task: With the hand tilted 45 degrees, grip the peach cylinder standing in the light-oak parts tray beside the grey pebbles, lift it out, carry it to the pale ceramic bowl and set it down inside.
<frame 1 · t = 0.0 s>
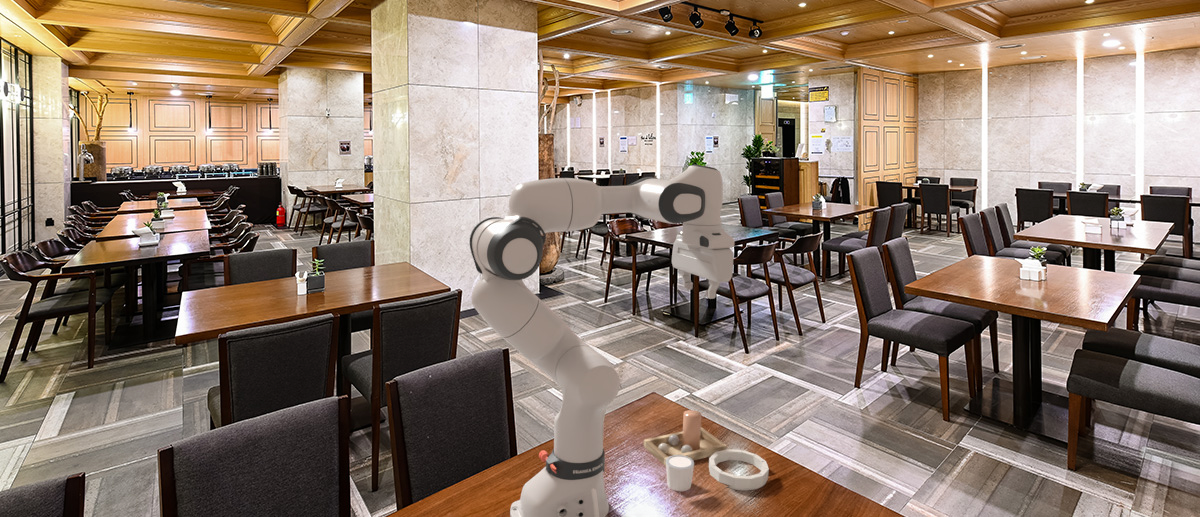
hand: (698, 293, 145), 48 cm above the table, tool pointing down, fingers open, 8 cm apart
bowl: (737, 474, 156), on the table
pebble a: (688, 445, 164), point 4 cm above the table, tilted 160°, touching parts tray
pebble b: (663, 454, 165), point 1 cm above the table, touching parts tray
shot glass: (678, 488, 150), on the table
peach cylinder: (690, 448, 168), point 1 cm above the table, touching parts tray
pebble c: (675, 435, 169), point 4 cm above the table, tilted 160°, touching parts tray
parts tray: (684, 452, 168), on the table
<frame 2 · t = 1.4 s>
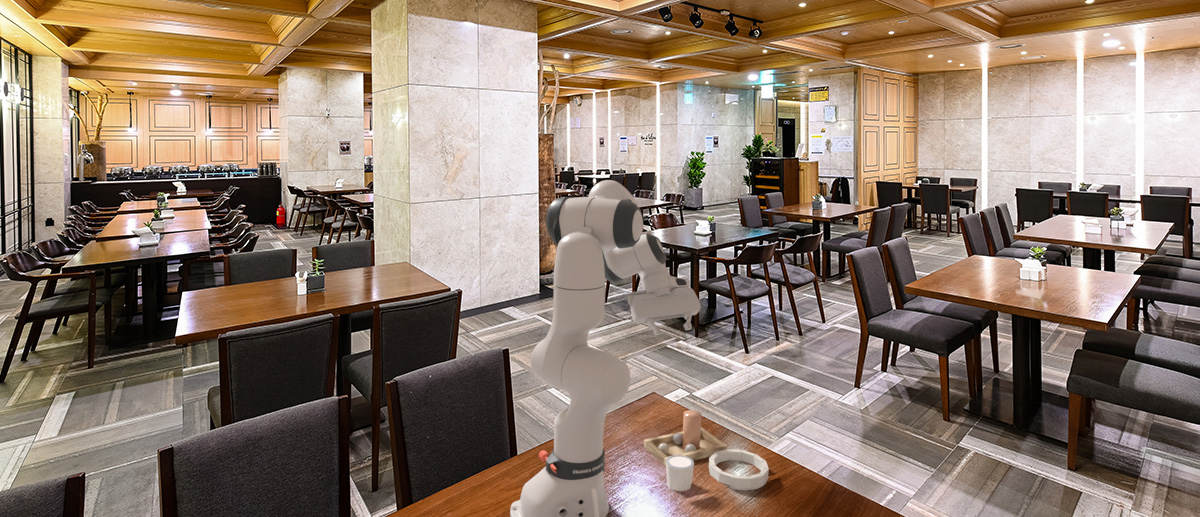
hand: (673, 331, 170), 32 cm above the table, tool tilted 45°, fingers open, 8 cm apart
pebble a: (694, 446, 165), point 3 cm above the table, tilted 116°, touching parts tray
pebble c: (682, 436, 171), point 3 cm above the table, tilted 107°, touching parts tray
everything else where it was.
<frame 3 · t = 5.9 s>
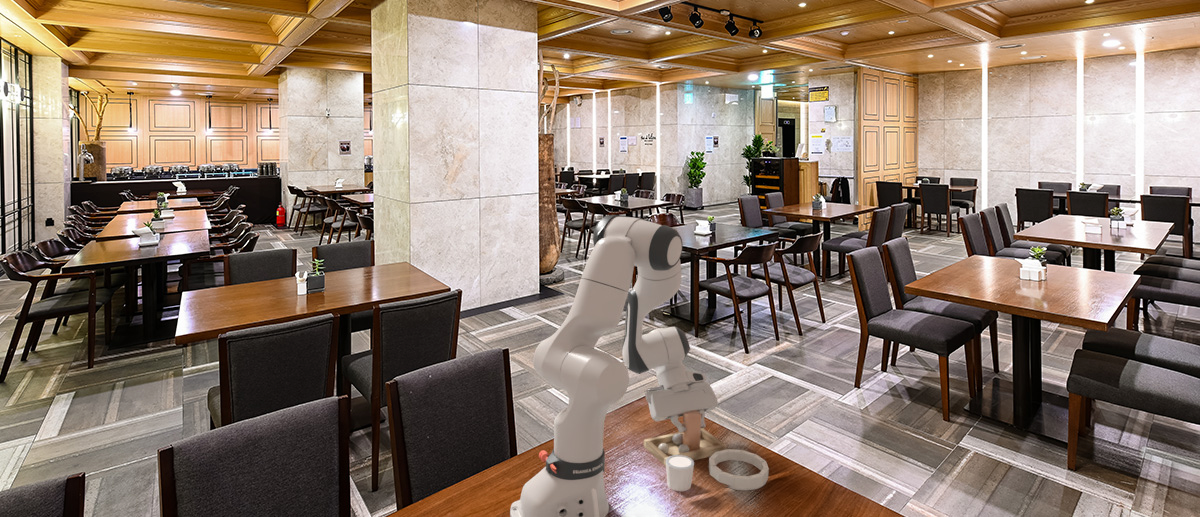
hand: (693, 430, 167), 6 cm above the table, tool tilted 45°, fingers closed on peach cylinder, 5 cm apart
pebble a: (682, 444, 164), point 4 cm above the table, tilted 159°, touching parts tray
peach cylinder: (691, 447, 168), point 1 cm above the table, touching gripper, parts tray
pebble c: (682, 436, 170), point 3 cm above the table, tilted 114°, touching parts tray
everything else where it was.
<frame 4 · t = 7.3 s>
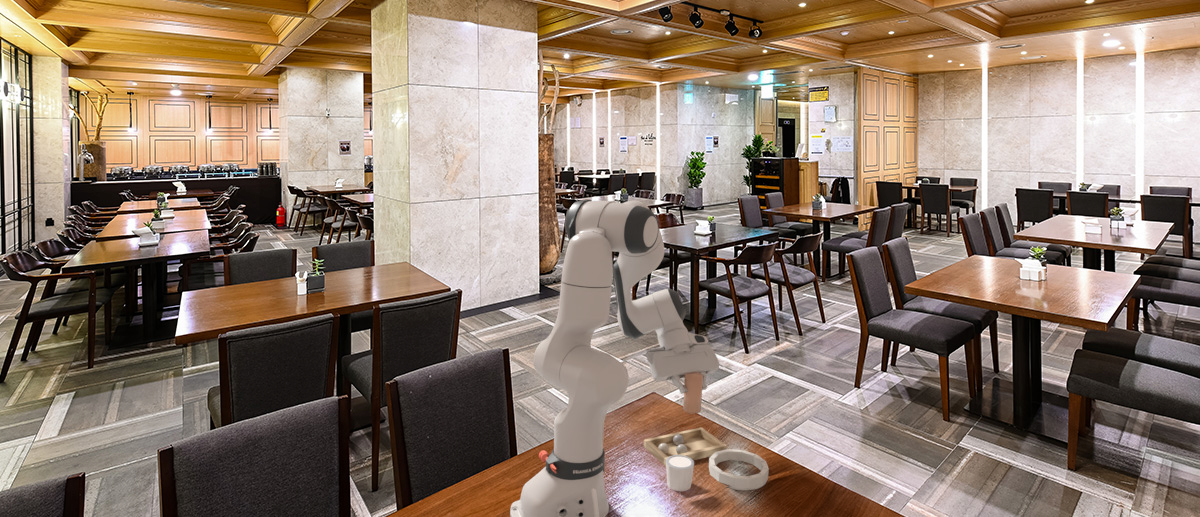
hand: (694, 391, 165), 18 cm above the table, tool tilted 45°, fingers closed on peach cylinder, 5 cm apart
pebble a: (678, 445, 164), point 4 cm above the table, tilted 144°, touching parts tray
peach cylinder: (692, 409, 166), point 12 cm above the table, touching gripper
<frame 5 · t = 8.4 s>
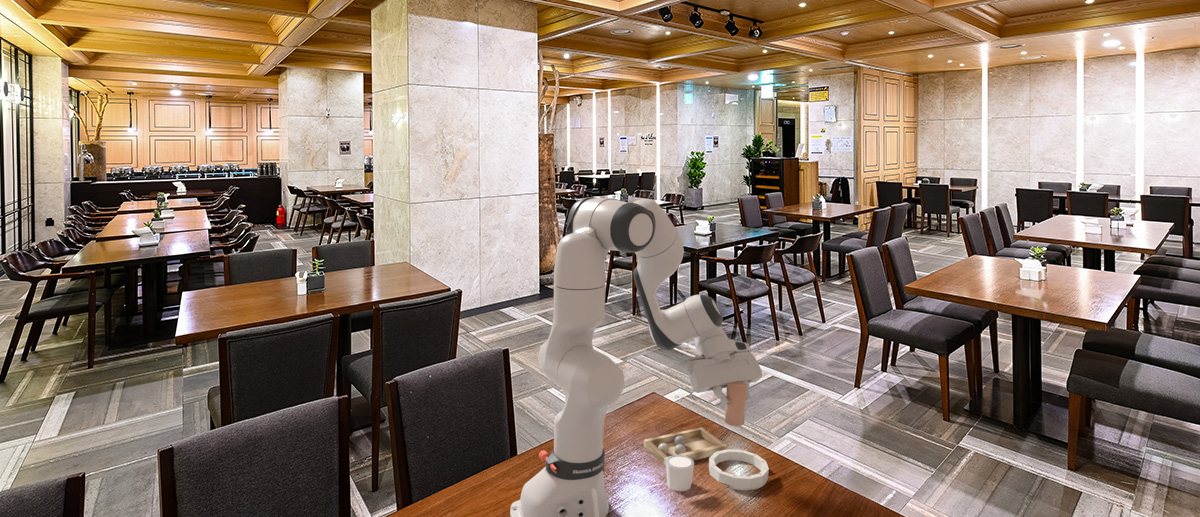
hand: (737, 402, 154), 19 cm above the table, tool tilted 45°, fingers closed on peach cylinder, 5 cm apart
pebble a: (675, 446, 164), point 3 cm above the table, tilted 129°, touching parts tray
peach cylinder: (734, 421, 155), point 14 cm above the table, touching gripper
pebble c: (685, 439, 169), point 3 cm above the table, tilted 107°, touching parts tray
everything else where it was.
when the fingers open (7 cm above the table, at t = 11.3 s): peach cylinder drops 1 cm, resting on bowl.
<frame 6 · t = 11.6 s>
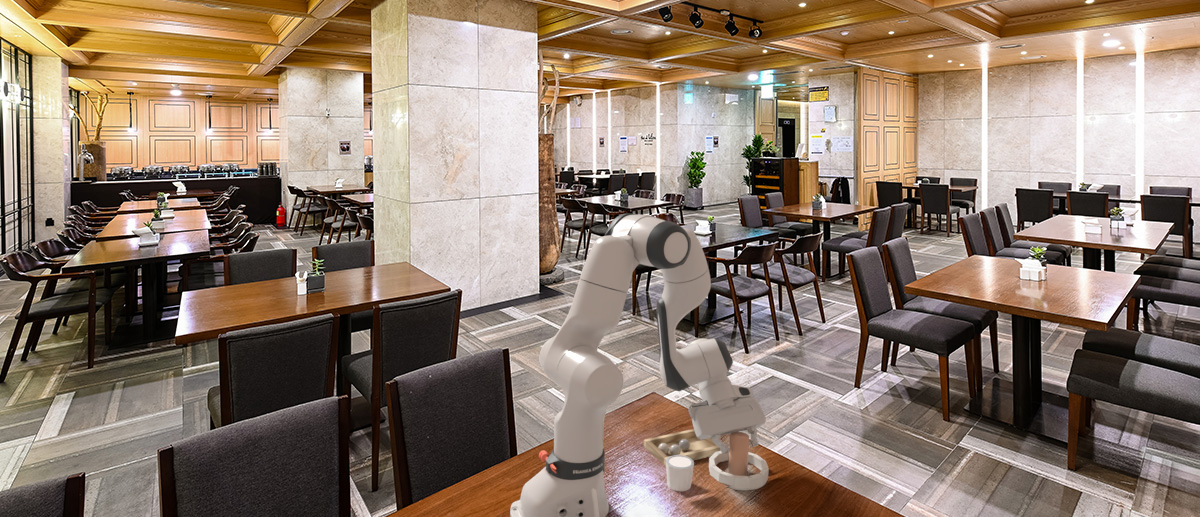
hand: (740, 449, 154), 7 cm above the table, tool tilted 45°, fingers open, 8 cm apart
pebble a: (669, 450, 164), point 2 cm above the table, tilted 82°, touching parts tray
peach cylinder: (737, 472, 156), point 1 cm above the table, touching bowl
pebble c: (689, 446, 167), point 2 cm above the table, tilted 71°, touching parts tray
everything else where it was.
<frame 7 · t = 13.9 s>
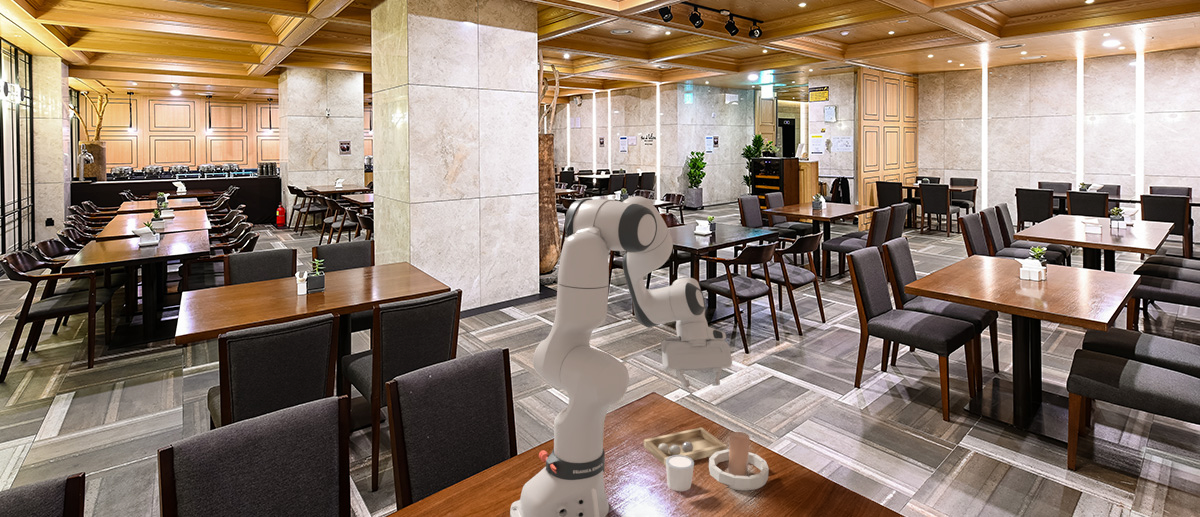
hand: (701, 386, 165), 19 cm above the table, tool tilted 30°, fingers open, 8 cm apart
pebble c: (691, 448, 166), point 2 cm above the table, tilted 64°, touching parts tray
everything else where it was.
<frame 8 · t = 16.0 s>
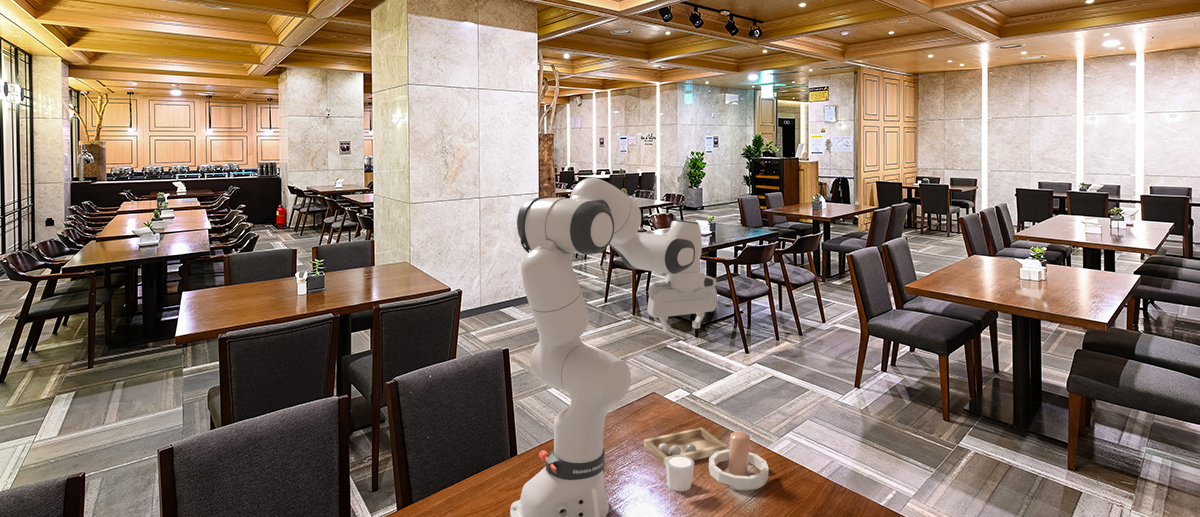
hand: (681, 329, 167), 33 cm above the table, tool pointing down, fingers open, 8 cm apart
pebble c: (693, 448, 165), point 2 cm above the table, tilted 82°, touching parts tray
everything else where it was.
at the end: peach cylinder 0.1 cm from the bowl (horizontally); peach cylinder point 0.6 cm above the table; peach cylinder tilted 0° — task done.
